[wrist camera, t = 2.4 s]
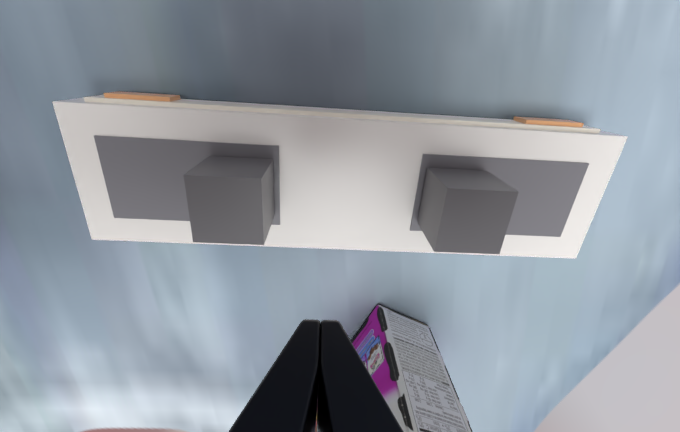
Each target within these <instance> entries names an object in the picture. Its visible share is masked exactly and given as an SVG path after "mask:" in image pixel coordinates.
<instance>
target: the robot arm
mask: <svg viewBox="0 0 680 432" xmlns="http://www.w3.org/2000/svg"><path fill="white" fill-rule="evenodd" d="M320 326H321V327H320ZM316 417H317V432H404V431H403V430H402V428H401V426H400V425H399V423H398V421H397V419H396V418H395V416H394V414H393V413H392V411H391V409H390V407H389V406H388V404H387V402H386V401H385V399H384V397H383V395H382V394H381V392H380V390H379V389H378V387H377V385H376V383H375V382H374V380H373V378H372V377H371V375H370V373H369V371H368V370H367V368H366V366H365V365H364V363H363V361H362V359H361V358H360V356H359V354H358V353H357V351H356V349H355V348H354V346H353V344H352V342H351V341H350V339H349V337H348V336H347V334H346V332H345V330H344V329H343V327H342V325H341V324H340V322H339V321H337V320H323V321H321V323H320V321H319V320H306V319H305V320H303V321H302V322H301V323H300V324H299V326H298V327H297V329H296V330H295V332H294V334H293V335H292V337H291V338H290V340H289V341H288V343H287V344H286V346H285V347H284V349H283V350H282V352H281V353H280V355H279V356H278V358H277V359H276V361H275V362H274V364H273V365H272V367H271V368H270V370H269V371H268V373H267V374H266V376H265V377H264V379H263V380H262V382H261V383H260V385H259V386H258V388H257V390H256V391H255V393H254V394H253V396H252V397H251V399H250V400H249V402H248V403H247V405H246V406H245V408H244V409H243V411H242V412H241V414H240V415H239V417H238V418H237V420H236V421H235V423H234V424H233V426H232V427H231V429H230V430H229V432H315V429H316Z"/></svg>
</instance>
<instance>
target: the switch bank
mask: <svg viewBox="0 0 680 432" xmlns="http://www.w3.org/2000/svg"><path fill="white" fill-rule="evenodd" d="M52 103H53V106H54V110H55V113H56V117H57V120H58V124H59V127H60V131H61V134H62V137H63V141H64V144H65V148H66V151H67V155H68V158H69V162H70V165H71V169H72V172H73V176H74V179H75V182H76V186H77V189H78V193H79V196H80V200H81V203H82V207H83V210H84V214H85V217H86V220H87V224H88V227H89V231H90V234H91V238H92V240H114V241H140V242H166V243H191V244H217V245H243V246H268V247H294V248H320V249H345V250H371V251H397V252H422V253H448V254H474V255H499V256H525V257H551V258H576V257H577V255H578V252H579V250H580V248H581V245H582V243H583V241H584V238H585V236H586V234H587V231H588V229H589V227H590V224H591V222H592V219H593V217H594V215H595V212H596V210H597V208H598V205H599V203H600V201H601V198H602V196H603V194H604V191H605V189H606V187H607V184H608V182H609V180H610V177H611V175H612V173H613V170H614V168H615V166H616V163H617V161H618V159H619V156H620V154H621V152H622V149H623V147H624V145H625V142H626V140H627V138H628V137H627V136H623V135H618V134H614V133H610V132H605V131H601V129H598V128H593V127H589V126H584V125H583V124H584V123H580V122H575V121H571V120H563V119H547V118H531V117H515V116H514V119H513V120H511V119H495V118H479V117H463V116H447V115H432V114H416V113H400V112H384V111H368V110H352V109H336V108H320V107H304V106H289V105H273V104H257V103H241V102H225V101H209V100H193V99H180V95H169V94H153V93H137V92H122V91H117V92H108V93H104V95H96V96H88V97H84V98H76V99H68V100H60V101H52ZM208 156H223V157H242V158H260V159H273V173H274V219H273V222H272V224H271V227H270V230H269V232H268V235H267V238H266V241H265V243H264V245H251V244H225V243H200V242H193V238H192V231H191V224H190V217H189V210H188V203H187V196H186V189H185V182H184V174H185V173H187V172H188V171H189V170H191V169H192V168H193V167H195V166H196V165H197V164H199V163H200V162H202V161H203V160H204V159H206V158H207V157H208ZM427 167H428V168H446V169H465V170H484V171H488V172H489V173H491V174H492V175H494V176H496V177H497V178H499V179H500V180H502V181H503V182H505V183H506V184H508V185H509V186H511V187H512V188H514V189H515V190H517V191H518V192H519V193H518V196H517V199H516V202H515V206H514V209H513V212H512V215H511V218H510V222H509V225H508V228H507V231H506V235H505V238H504V241H503V244H502V247H501V251H500V254H480V253H455V252H434V251H433V249H432V247H431V246H430V244H429V242H428V240H427V239H426V237H425V235H424V233H423V232H422V230H421V228H420V226H419V225H418V223H417V221H418V216H419V210H420V205H421V199H422V194H423V188H424V182H425V177H426V171H427Z"/></svg>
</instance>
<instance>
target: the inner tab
mask: <svg viewBox="0 0 680 432" xmlns="http://www.w3.org/2000/svg"><path fill="white" fill-rule="evenodd" d="M184 182H185V189H186V196H187V203H188V210H189V217H190V224H191V231H192V238H193V242H200V243H225V244H251V245H264V243H265V241H266V238H267V235H268V232H269V230H270V227H271V224H272V222H273V219H274V173H273V159H260V158H242V157H223V156H208V157H207V158H206V159H204V160H203V161H202V162H200V163H199V164H197V165H196V166H195V167H193V168H192V169H191V170H189V171H188V172H187V173H185V174H184Z"/></svg>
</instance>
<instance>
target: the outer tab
mask: <svg viewBox="0 0 680 432" xmlns="http://www.w3.org/2000/svg"><path fill="white" fill-rule="evenodd" d="M518 193H519V192H518V191H517V190H515V189H514V188H512V187H511V186H509V185H508V184H506V183H505V182H503V181H502V180H500V179H499V178H497V177H496V176H494V175H492V174H491V173H489V172H488V171H484V170H465V169H446V168H428V167H427V171H426V177H425V182H424V188H423V194H422V199H421V205H420V210H419V216H418V221H417V223H418V225H419V226H420V228H421V230H422V232H423V233H424V235H425V237H426V239H427V240H428V242H429V244H430V246H431V247H432V249H433V251H434V252H455V253H480V254H500V251H501V247H502V244H503V241H504V238H505V235H506V231H507V228H508V225H509V222H510V218H511V215H512V212H513V209H514V206H515V202H516V199H517V196H518Z"/></svg>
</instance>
